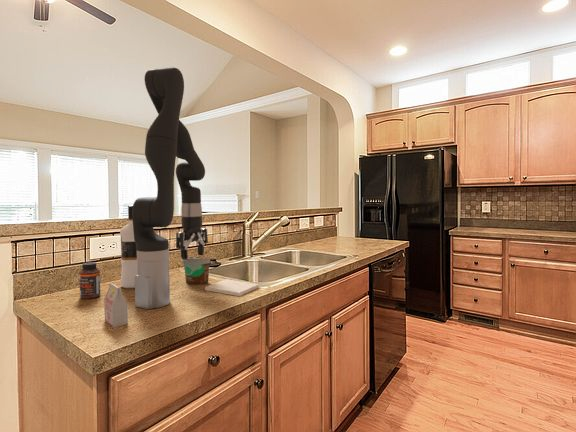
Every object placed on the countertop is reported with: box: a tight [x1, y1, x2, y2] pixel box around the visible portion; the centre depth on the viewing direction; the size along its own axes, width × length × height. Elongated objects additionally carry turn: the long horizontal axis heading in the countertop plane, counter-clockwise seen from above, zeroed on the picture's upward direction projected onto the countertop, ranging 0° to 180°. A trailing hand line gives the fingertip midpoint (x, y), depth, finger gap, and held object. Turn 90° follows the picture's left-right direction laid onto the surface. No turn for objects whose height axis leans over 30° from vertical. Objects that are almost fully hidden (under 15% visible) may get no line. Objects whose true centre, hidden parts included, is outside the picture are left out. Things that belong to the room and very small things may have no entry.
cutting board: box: [204, 278, 260, 297], centre depth 122 cm, size 12×15×1 cm
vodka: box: [119, 204, 137, 289], centre depth 126 cm, size 9×9×30 cm
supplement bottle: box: [78, 261, 101, 300], centre depth 113 cm, size 6×6×11 cm
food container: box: [181, 254, 212, 286], centre depth 130 cm, size 12×6×10 cm, turn 62°
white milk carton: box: [103, 282, 129, 328], centre depth 91 cm, size 4×7×10 cm, turn 44°
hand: (193, 257), depth 130 cm, fingers open, 8 cm apart
